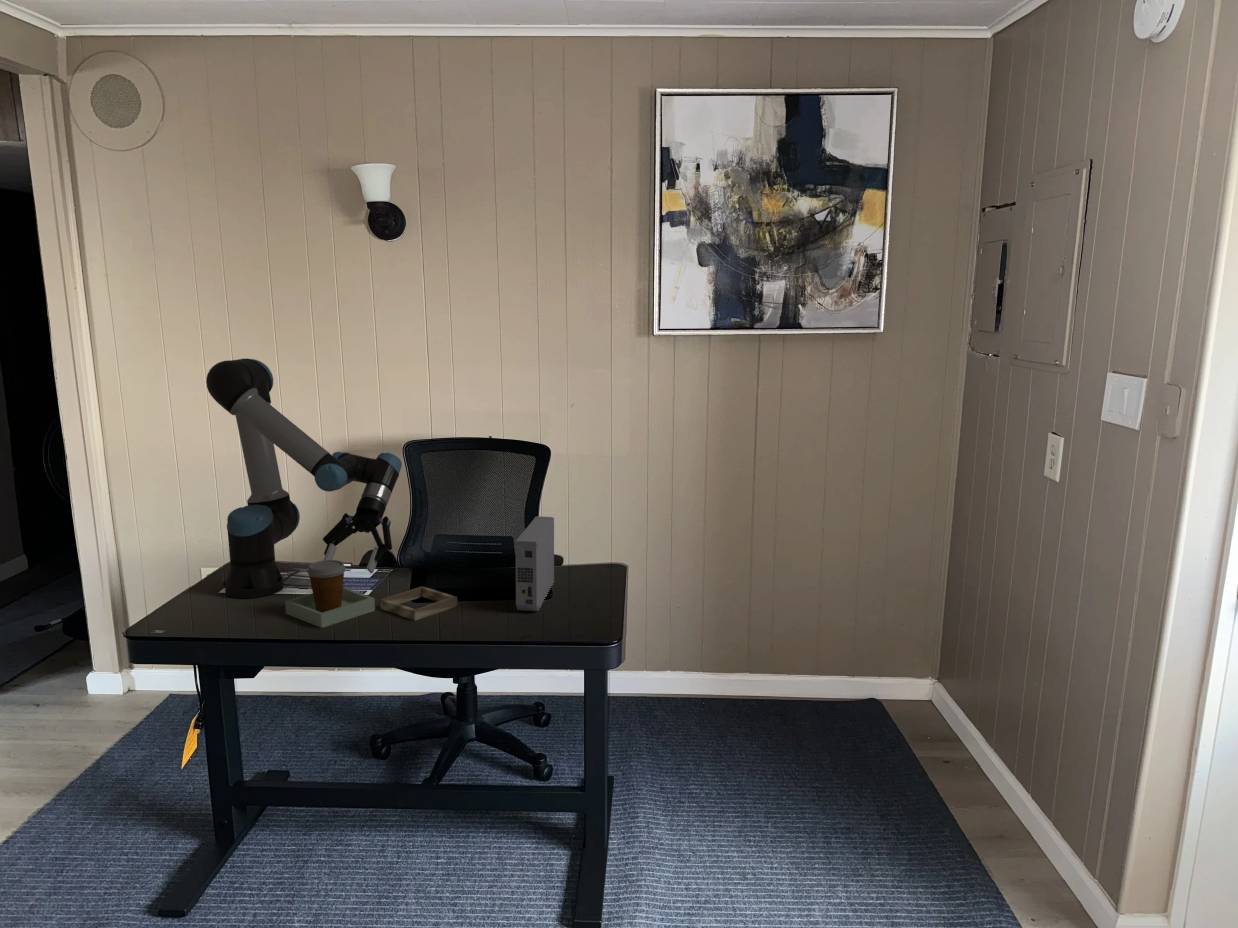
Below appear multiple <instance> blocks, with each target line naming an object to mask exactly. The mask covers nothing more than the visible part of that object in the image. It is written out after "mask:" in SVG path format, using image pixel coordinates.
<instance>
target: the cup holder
mask: <svg viewBox="0 0 1238 928" xmlns="http://www.w3.org/2000/svg"><path fill="white" fill-rule="evenodd" d="M419 598H425V599H428V600H431V601H434V602H433V603H429V604H427V605H425V606H422V607H418V608H416V609H415V608H414V607H413V608H412V607H410V606H407V605H404V604H405V603H408V602H410V601H413V600H417V599H419ZM455 607H458V596H454V595H452V594H450V593H449V594H448V593H446V592H442V591H439V590H436V589H434V588H433V589H432V588H430V587H426V586H419V587H415V588H412V589H409V590H407V591H403V592H400V593H397V594H393V595H390V596H387V597H384V598H381V599H379V609H380V610H384V611H386V612H388V611H389V613H391V612H392V614H394V615H397V614H398V615H397V616H400V617H404V618H406V619H409V620H412V621H413V622H416V621H418V620H422V619H424V618H428V617H429V616H432V615H436V614H439V613H441V612H444V611H447V610H450V609H452V608H455Z"/></svg>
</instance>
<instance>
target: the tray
mask: <svg viewBox="0 0 1238 928" xmlns="http://www.w3.org/2000/svg"><path fill="white" fill-rule="evenodd" d="M375 602H376V600H375V597H372V596H369V595H367V594H364V593H361V592H358V591H355V590H353V589H349V588H346V587H343V591H342V603H341V607H339V608H336V609H333V610H329V611H326V612H319V611H316V607H315V601H314V597H313V592H312V593H308V594H305V595H301V596H298V597H295V598H291V599H288V600H287V599H286V600H285V601H284V603H285V614H286V615H289V616H291V617H293V618H296V619H298V620H301V621H303V622H306V623H309V624H311V625H313V626H316V627H318V628H321V629H323V628H326V627H329V626H332V625H335V624H338V623H341V622H344V621H348V620H350V619H353V618H356V617H359V616H360V617H361V616H363V615H366V614H368V613H372V612H375V611H376V605H375V604H376V603H375ZM322 627H323V628H322Z"/></svg>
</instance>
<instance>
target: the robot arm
mask: <svg viewBox="0 0 1238 928" xmlns="http://www.w3.org/2000/svg"><path fill="white" fill-rule="evenodd" d="M205 382H206V383H205V384H206V385H205V386H206V389H207V391H208V393H209V394H210V396H211V397H212V399H213V400H214V401H215V402H216V403H217V404H218V405H219V406H221V408H222V409H224V410H225V411H227V412H228V414H230V415H231V416H235V419H236V425H237V430H238V434H239V440H240V444H241V449H242V454H243V458H244V464H245V465H244V466H245V469H246V475H247V479H248V483H249V489H250V495H249V497H248V499H247V500H246V502H247V505H245V506H243V507H242V506H241V507H237V508H235V509H233V510H232V511H231V512H229V513H228V515H227V519H226V520H227V524H226V530H227V539H228V540H227V542H228V552H229V565H230V566H229V570H228V574H227V576H226V580H225V585H224V589H225V595H226V596H228V597H230V598H233V599H234V598H235V599H256V598H261V597H266V596H270V595H275V594H276V593H279V592H280V591H282V590H283V589H284V578H283V576H282V574H281V572H280V570H279V567H278V565H277V563H276V555H275V554H276V552H275V551H276V550H275V545H276V544H277V543H279V542H281V541H283V540H285V539H287V538H288V537H290V536H291V535H292V534H293V533H294V531H296V529H297V528H298V526H299V524H300V519H301V518H300V516H301V514H300V510H299V508H298V507H297V505H296V504H295V503H293V501H292V500H291V498H290V497H291V496H290V493H289V492H288V491H287V490H285V489H284V488H283V485H282V480H281V475H280V470H279V469H280V468H279V465H278V459H277V453H276V448H275V446H276V447H277V448H279V449H280V450H281V451H282V452H283V453H285V454H286V455H287V456H289V457H290V458H291V459H292V460H293V461H294V462H296V463H297V464H298V465H299V466H300V467H302V468H303V469H304V470H306V471H307V472H308V473H310V475H312V476H313V477H314V481H315V484H316V486H317V487H318V488H319V489H321V490H322V491H324V492H328V493H329V492H335V491H338V490H340V489H342V488H343V487H345V486H346V485H348V484H350V483H353V482H356V483H357V482H358V483H363V484H365V486H364V489H363V491H362V494H361V498H360V499H359V501H358V504H357V506H356V510H355V514H354V515H349V514H348V513H347V512H346V513H344V514H343V515H342V517H341V519H340V520H339V521H338V522H337V524H335V525H334V526H333V528H331V529H330V530H329V531H328V532H327V534H325V536H324V537H322V541H323V542H324V544H326V547H325V549H324V551H323V555H324V557H323V559H322V561H325V560H334V556H335V555H336V552H337V550H338V547H337V546H338V545H339V544H340V543H342V542H343V541H345V540H346V539H348V538H349V537H350V536H351V535H353V534H356V533H366V534H369V533H371V534H372V536H373V540H374V541H375V544H376V546H377V547H375V546H374V548H373V551H372V553H371V555H370V558H369V560H368V563H367V566H366V570H367V571H368V573H370V574H374V572H375V569H376V567H377V564H378V562H381V560H382V557H383V555H384V552H386V551H392V550H393V544H392V537H391V529H390V527H391V523H392V521H391V520H390V518H389V517H388V516H386V515H385V516H384V514H385V511H386V509H387V506H388V504H389V501H390V499H391V496H392V493H393V491H394V488H395V485H396V483H397V481H398V478H399V477H400V472H401V469H402V466H403V462H402V461H401V459H400V458H399V457H398V456H397V455H395V454H394V453H390V452H381V453H379V454H378V455H377V456H376V458H373V457H372V458H371V457H366V456H361V455H357V454H354V453H349V452H343V451H335V452H333V453H332V454H331V453H330V452H329V451H328V450H326V449H325V448H324V447H323V446H322V445H320V444H319V443H318V442H317V441H316V440H314V439H313V437H310V436H309V434H307V433H306V432H305V431H303V430H302V429H301V428H300V427H298V426H297V425H296V424H295V423H293V421H291V420H290V419H288V418H287V417H286V416H285V415H284V414H282V413H281V412H280V411H278V409H276V407H274V406H273V405H271V404H272V399H271V395H270V394H271V393H270V392H271V391H272V389H273V387H274V376H273V373H272V371H271V370H270V368H269V366H267V365H266V364H265V363H263V362H262V361H260V360H258V359H254V358H240V359H232V360H223V361H219V362H217V363H216V364H213V366H212V367H210V369H209V371H208V372H207V375H206V381H205ZM380 525H381V527H382V535H383V540H382V538H381V536H380V533H379V531H378V529H377V527H378V526H380Z"/></svg>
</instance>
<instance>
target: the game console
mask: <svg viewBox="0 0 1238 928" xmlns="http://www.w3.org/2000/svg"><path fill="white" fill-rule="evenodd" d="M514 543H515V551H514V552H515V606H516V610H517V611H519V610H520V612H521V611H522V612H523V611H525V612H539V611H540V609H541V607H542V606H541V605H543V604H544V602H545V600H546V598H547V596H548V595H547V594H549V593H550V591H551V589H552V587H553V586H552V585H554V584H553V583H555V518H554V517H552V516H537V515H536V516H535V517H534V518H533V520H532V521H531V522H530V523H529V525H528V526H527V527H526V528H525V529H524V530H523V532H522V533H521V534H520V535H519V536H518V537H517V539H516V540H515V542H514ZM551 586H552V587H551ZM550 588H551V589H550ZM549 590H550V591H549ZM548 592H549V593H548ZM545 597H546V598H545ZM544 599H545V600H544ZM543 601H544V602H543ZM542 603H543V604H542ZM539 608H540V609H539ZM538 610H539V611H538Z"/></svg>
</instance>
